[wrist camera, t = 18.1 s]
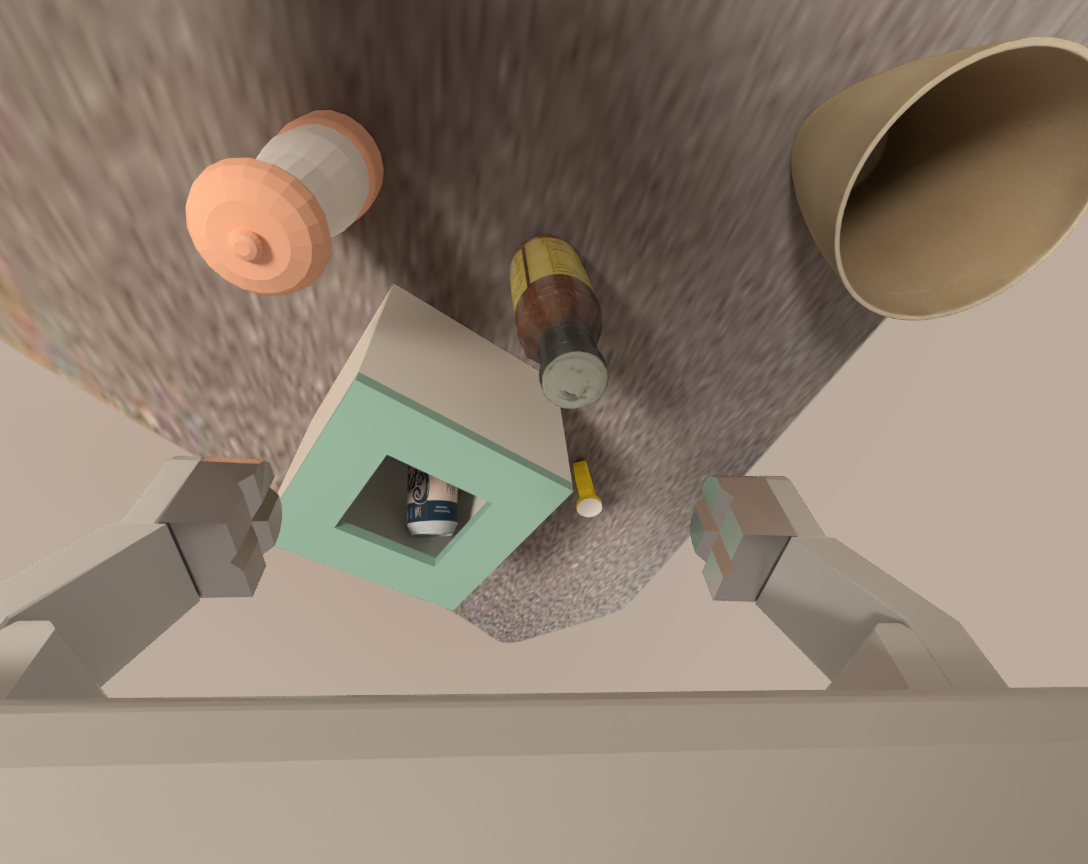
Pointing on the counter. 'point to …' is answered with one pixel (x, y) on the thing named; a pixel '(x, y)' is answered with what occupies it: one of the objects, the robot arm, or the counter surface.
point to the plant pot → (947, 174)
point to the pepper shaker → (285, 203)
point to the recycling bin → (424, 456)
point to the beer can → (430, 505)
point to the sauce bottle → (558, 321)
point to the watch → (586, 491)
